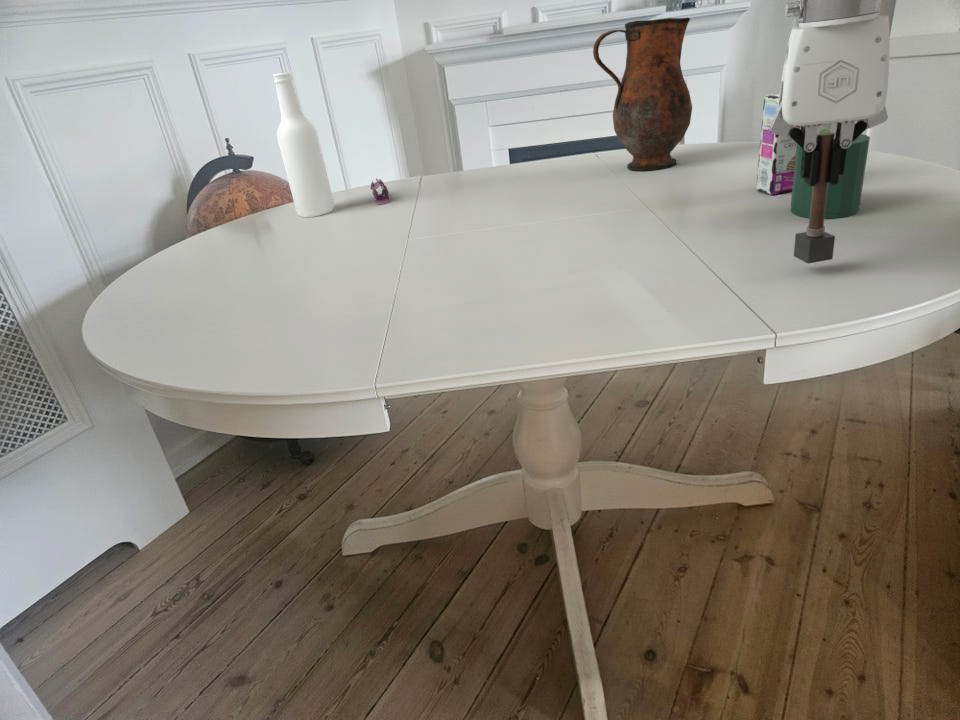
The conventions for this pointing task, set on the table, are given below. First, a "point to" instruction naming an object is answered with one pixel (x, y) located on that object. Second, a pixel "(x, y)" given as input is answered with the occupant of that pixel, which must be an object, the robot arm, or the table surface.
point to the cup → (839, 196)
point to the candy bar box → (778, 152)
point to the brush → (818, 212)
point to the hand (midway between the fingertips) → (820, 181)
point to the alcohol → (301, 153)
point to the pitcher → (651, 92)
